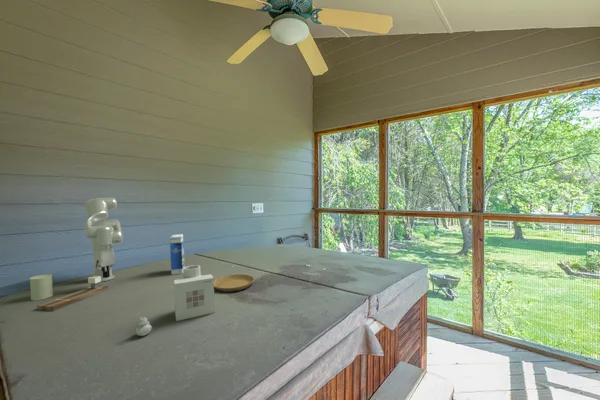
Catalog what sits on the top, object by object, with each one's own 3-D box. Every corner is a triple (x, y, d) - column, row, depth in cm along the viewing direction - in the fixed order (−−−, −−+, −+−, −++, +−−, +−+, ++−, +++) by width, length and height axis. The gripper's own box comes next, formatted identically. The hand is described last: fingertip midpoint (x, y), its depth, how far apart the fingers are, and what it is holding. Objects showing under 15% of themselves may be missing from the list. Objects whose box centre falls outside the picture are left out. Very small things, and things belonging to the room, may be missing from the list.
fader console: (37, 309, 136) (37, 305, 136) (94, 288, 165) (94, 285, 165) (53, 311, 134) (53, 306, 134) (108, 289, 163) (108, 285, 163)
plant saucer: (223, 297, 147) (223, 290, 146) (205, 286, 165) (205, 280, 165) (262, 285, 162) (261, 280, 162) (241, 277, 181) (241, 272, 180)
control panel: (176, 321, 119) (174, 275, 119) (173, 306, 136) (172, 265, 135) (215, 312, 127) (213, 269, 126) (208, 299, 143) (206, 261, 143)
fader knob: (88, 288, 159) (87, 277, 159) (94, 286, 163) (93, 275, 162) (95, 288, 158) (94, 277, 158) (101, 286, 162) (100, 275, 161)
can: (56, 295, 156) (55, 274, 155) (35, 301, 147) (34, 279, 147) (48, 293, 159) (47, 272, 159) (27, 299, 151) (25, 277, 151)
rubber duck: (132, 338, 106) (131, 318, 105) (141, 330, 112) (141, 310, 112) (146, 338, 106) (145, 317, 106) (155, 329, 112) (154, 310, 112)
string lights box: (182, 273, 191) (181, 236, 190) (170, 275, 189) (169, 237, 188) (184, 268, 204) (183, 233, 203) (173, 269, 202) (172, 234, 201)
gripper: (110, 244, 175) (111, 273, 176) (87, 249, 161) (89, 281, 161) (120, 244, 174) (121, 273, 174) (98, 249, 159) (100, 281, 159)
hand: (106, 277), depth 168 cm, fingers closed
